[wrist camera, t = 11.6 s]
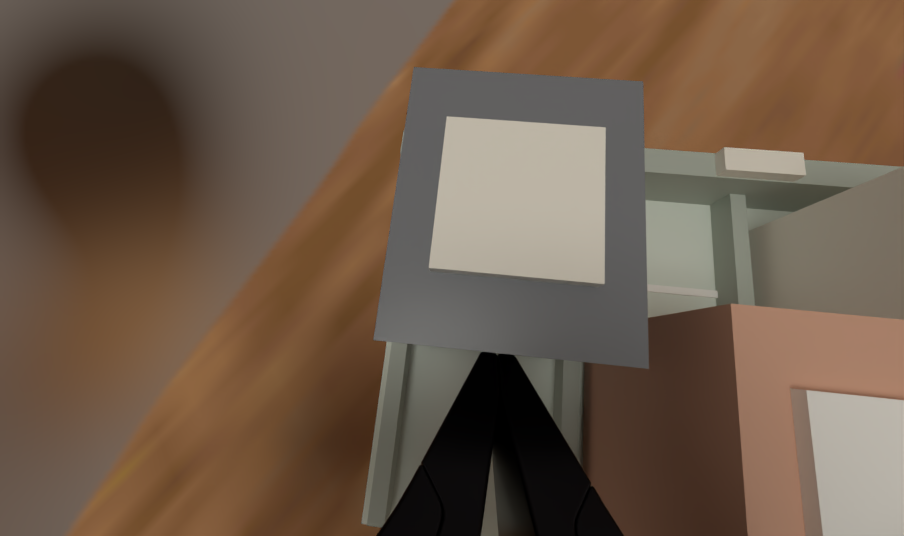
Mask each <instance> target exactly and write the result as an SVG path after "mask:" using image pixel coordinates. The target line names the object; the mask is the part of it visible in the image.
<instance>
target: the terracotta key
mask: <svg viewBox="0 0 904 536" xmlns="http://www.w3.org/2000/svg"><path fill="white" fill-rule="evenodd" d="M648 347H649V369H645V368H635V367H626V366H616V365H606V364H596V363H587V362H585V367H584V422H583V470H584V471H585V473H586V475H587V476H588V478H589V480H590V481H591V486H593V487H594V488H595V489H596V491H597V493H598V494H599V496H600V498H601V500H602V501H603V503H604V505H605V506H606V508H607V509H608V511H609V513H610V514H611V516H612V517H613V519H614V520H615V522H616V524H617V525H618V527H619V528H620V530H621V531H622V533H623V535H624V536H904V320H901V319H890V318H879V317H869V316H858V315H848V314H837V313H826V312H816V311H805V310H794V309H784V308H773V307H762V306H752V305H741V304H725V305H719V306H714V307H708V308H702V309H696V310H691V311H685V312H679V313H673V314H667V315H662V316H656V317H650V318H648ZM591 486H590V487H591Z"/></svg>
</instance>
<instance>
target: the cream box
mask: <svg viewBox="0 0 904 536" xmlns="http://www.w3.org/2000/svg"><path fill="white" fill-rule="evenodd" d="M749 243H750V254H751V265H752V277H753V288H754V300H755V306H762V307H773V308H784V309H794V310H805V311H816V312H826V313H837V314H848V315H858V316H869V317H879V318H890V319H901V320H904V166H903V167H901V168H899V169H896V170H894V171H891V172H889V173H887V174H884V175H882V176H879V177H877V178H875V179H872V180H870V181H867V182H865V183H863V184H860V185H858V186H855V187H853V188H851V189H848V190H846V191H843V192H841V193H839V194H836V195H834V196H831V197H829V198H827V199H824V200H822V201H819V202H817V203H815V204H812V205H810V206H807V207H805V208H803V209H800V210H798V211H795V212H793V213H791V214H788V215H786V216H783V217H781V218H779V219H776V220H774V221H771V222H769V223H767V224H764V225H762V226H759V227H757V228H755V229H752V230H750V231H749Z"/></svg>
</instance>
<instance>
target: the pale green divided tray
mask: <svg viewBox="0 0 904 536" xmlns="http://www.w3.org/2000/svg"><path fill="white" fill-rule="evenodd" d="M403 137H404V132H403ZM402 144H403V138H402ZM401 151H402V145H401ZM400 154H401V152H400ZM644 154H645V202H646V251H647V299H648V318H650V317H656V316H662V315H667V314H673V313H679V312H685V311H691V310H696V309H702V308H708V307H714V306H719V305H725V304H741V305H752V306H755V300H754V288H753V277H752V265H751V254H750V243H749V231H750V230H752V229H755V228H757V227H759V226H762V225H764V224H767V223H769V222H771V221H774V220H776V219H779V218H781V217H783V216H786V215H788V214H791V213H793V212H795V211H798V210H800V209H803V208H805V207H807V206H810V205H812V204H815V203H817V202H819V201H822V200H824V199H827V198H829V197H831V196H834V195H836V194H839V193H841V192H843V191H846V190H848V189H851V188H853V187H855V186H858V185H860V184H863V183H865V182H867V181H870V180H872V179H875V178H877V177H879V176H882V175H884V174H887V173H889V172H891V171H894V170H896V169H899V168H901V167H896V166H882V165H868V164H854V163H841V162H827V161H813V160H804V154H803V153H797V152H783V151H769V150H755V149H741V148H727V147H724V148H723V149H721V150H720V151H719V152H717V153H703V152H689V151H675V150H661V149H647V148H644ZM480 353H481V351H471V350H462V349H452V348H443V347H433V346H423V345H414V344H405V343H396V342H387V344H386V351H385V358H384V366H383V373H382V380H381V387H380V394H379V401H378V408H377V415H376V423H375V430H374V437H373V444H372V451H371V458H370V465H369V473H368V480H367V487H366V494H365V501H364V508H363V515H362V523H361V524H367V526H373V527H381V528H382V526H383V525H384V523H385V522H386V520H387V519H388V517H389V516H390V514H391V513H392V511H393V510H394V508H395V507H396V505H397V504H398V502H399V500H400V498H401V497H402V495H403V493H404V492H405V490H406V488H407V486H408V485H409V483H410V481H411V479H412V478H413V476H414V474H415V472H416V470H417V468H418V467H419V465H421V461H422V460H423V458H424V456H425V454H426V452H427V450H428V449H429V447H430V445H431V443H432V441H433V439H434V437H435V436H436V434H437V432H438V430H439V428H440V426H441V424H442V423H443V421H444V419H445V417H446V415H447V413H448V412H449V410H450V408H451V406H452V404H453V402H454V400H455V399H456V397H457V395H458V393H459V391H460V389H461V388H462V386H463V384H464V382H465V380H466V378H467V376H468V375H469V373H470V371H471V369H472V367H473V365H474V363H475V362H476V360H477V358H478V356H479V354H480ZM496 354H497V356H498V354H500V353H496ZM514 356H515V357H516V358H517V360H518V361H519V363H520V365H521V366H522V368H523V370H524V371H525V373H526V375H527V376H528V378H529V380H530V381H531V383H532V385H533V386H534V388H535V390H536V391H537V393H538V395H539V396H540V398H541V400H542V401H543V403H544V405H545V406H546V408H547V410H548V411H549V413H550V415H551V416H552V418H553V420H554V421H555V423H556V425H557V426H558V428H559V430H560V431H561V433H562V435H563V436H564V438H565V440H566V441H567V443H568V445H569V446H570V448H571V450H572V451H573V453H574V455H575V456H576V458H577V460H578V461H579V463H580V465H581V466H582V468H583V422H584V367H585V362H577V361H567V360H557V359H548V358H538V357H528V356H519V355H514ZM481 536H499V535H498V523H497V510H496V498H495V486H494V474H493V461H492V458H491V465H490V473H489V480H488V488H487V495H486V502H485V510H484V517H483V524H482V532H481Z"/></svg>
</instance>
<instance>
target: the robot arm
mask: <svg viewBox="0 0 904 536" xmlns="http://www.w3.org/2000/svg"><path fill="white" fill-rule="evenodd" d="M491 458H492V461H493V474H494V486H495V498H496V510H497V523H498V535H499V536H624V535H623V533H622V531H621V530H620V528H619V527H618V525H617V524H616V522H615V520H614V519H613V517H612V516H611V514H610V513H609V511H608V509H607V508H606V506H605V505H604V503H603V501H602V500H601V498H600V496H599V494H598V493H597V491H596V489H595V488H594V487H593V486H591V481H590V480H589V478H588V476H587V475H586V473H585V471H584V470H583V468H582V466H581V465H580V463H579V461H578V460H577V458H576V456H575V455H574V453H573V451H572V450H571V448H570V446H569V445H568V443H567V441H566V440H565V438H564V436H563V435H562V433H561V431H560V430H559V428H558V426H557V425H556V423H555V421H554V420H553V418H552V416H551V415H550V413H549V411H548V410H547V408H546V406H545V405H544V403H543V401H542V400H541V398H540V396H539V395H538V393H537V391H536V390H535V388H534V386H533V385H532V383H531V381H530V380H529V378H528V376H527V375H526V373H525V371H524V370H523V368H522V366H521V365H520V363H519V361H518V360H517V358H516V357H515V356H514V355H510V354H498V356H497V354H496V353H491V352H481V353H480V354H479V356H478V358H477V360H476V362H475V363H474V365H473V367H472V369H471V371H470V373H469V375H468V376H467V378H466V380H465V382H464V384H463V386H462V388H461V389H460V391H459V393H458V395H457V397H456V399H455V400H454V402H453V404H452V406H451V408H450V410H449V412H448V413H447V415H446V417H445V419H444V421H443V423H442V424H441V426H440V428H439V430H438V432H437V434H436V436H435V437H434V439H433V441H432V443H431V445H430V447H429V449H428V450H427V452H426V454H425V456H424V458H423V460H422V461H421V465H419V467H418V468H417V470H416V472H415V474H414V476H413V478H412V479H411V481H410V483H409V485H408V486H407V488H406V490H405V492H404V493H403V495H402V497H401V498H400V500H399V502H398V504H397V505H396V507H395V508H394V510H393V511H392V513H391V514H390V516H389V517H388V519H387V520H386V522H385V523H384V525H383V526H382V528H381V529H380V531H379V532H378V534H377V535H376V536H481V532H482V524H483V517H484V510H485V502H486V495H487V488H488V480H489V473H490V465H491ZM590 486H591V487H590Z"/></svg>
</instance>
